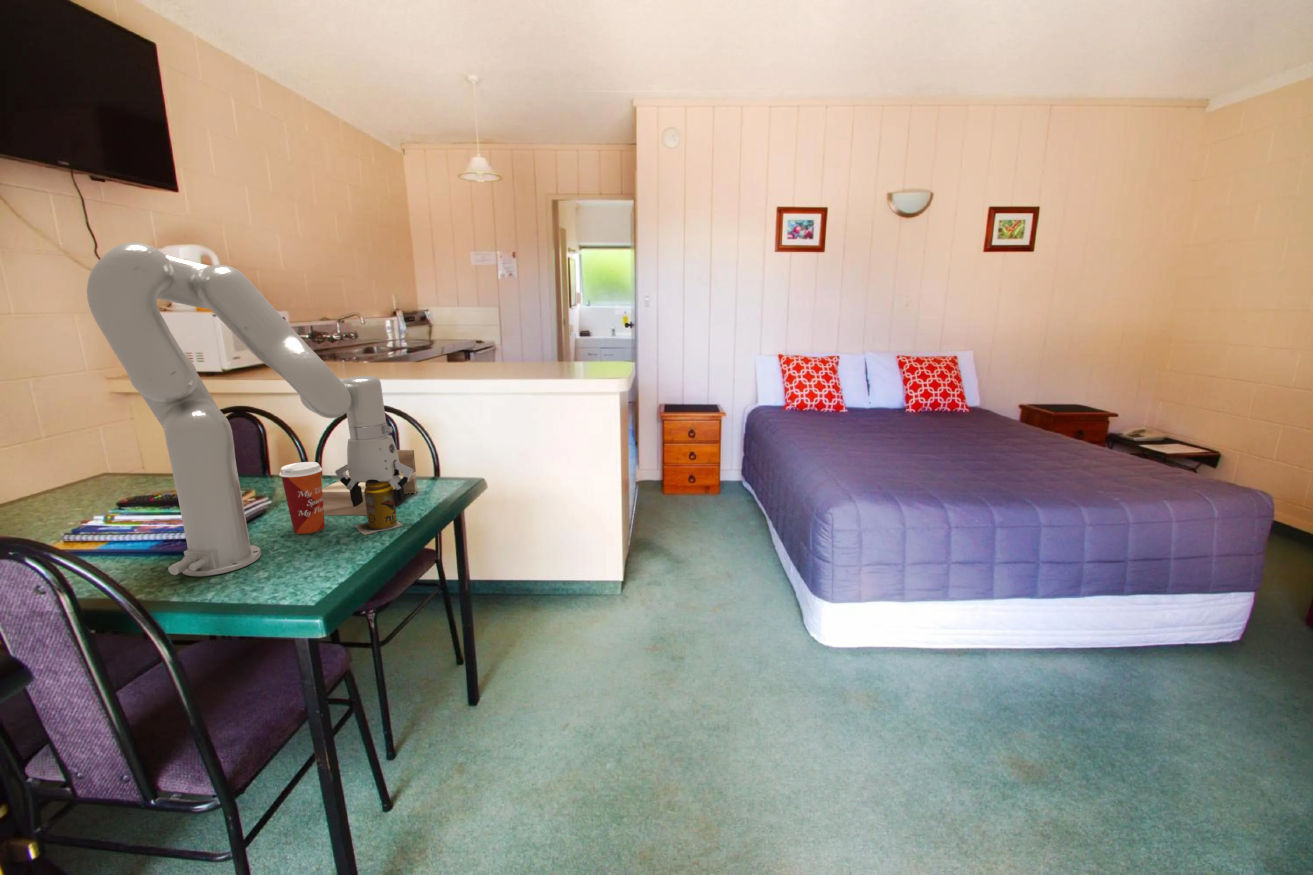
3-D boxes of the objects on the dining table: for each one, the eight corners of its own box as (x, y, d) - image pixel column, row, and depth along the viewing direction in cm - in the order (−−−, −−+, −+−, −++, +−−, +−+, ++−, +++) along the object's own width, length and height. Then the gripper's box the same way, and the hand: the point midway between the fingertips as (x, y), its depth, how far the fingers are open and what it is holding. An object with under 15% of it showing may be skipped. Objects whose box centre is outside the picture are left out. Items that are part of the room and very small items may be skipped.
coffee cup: (310, 537, 124) (301, 471, 121) (279, 534, 126) (268, 469, 122) (338, 523, 132) (330, 461, 129) (308, 521, 134) (299, 460, 130)
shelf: (385, 515, 137) (380, 468, 135) (320, 514, 138) (314, 467, 135) (417, 492, 155) (413, 449, 152) (360, 491, 155) (355, 449, 153)
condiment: (403, 525, 131) (398, 476, 128) (364, 535, 125) (358, 484, 122) (392, 517, 136) (386, 470, 133) (354, 527, 130) (347, 477, 127)
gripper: (414, 427, 129) (423, 498, 133) (340, 428, 129) (351, 499, 133) (398, 435, 122) (408, 509, 126) (320, 436, 122) (332, 510, 126)
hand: (378, 504), depth 130 cm, fingers open, 9 cm apart
